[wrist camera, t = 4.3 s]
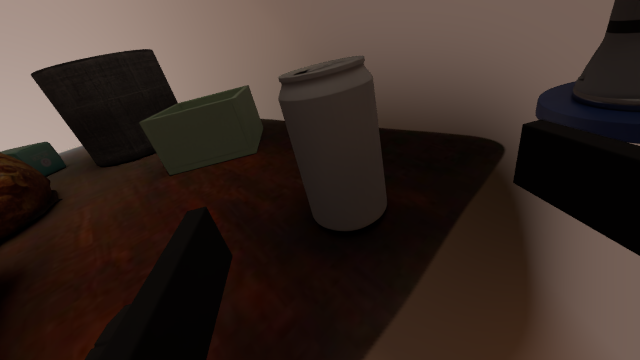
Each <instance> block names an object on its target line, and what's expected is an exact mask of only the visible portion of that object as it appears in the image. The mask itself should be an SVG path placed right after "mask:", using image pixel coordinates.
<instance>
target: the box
mask: <svg viewBox="0 0 640 360" xmlns="http://www.w3.org/2000/svg"><path fill="white" fill-rule="evenodd" d="M0 153H3V154H5V155H9V156H11V157H13V158H15V159H18V160H21V161H23V162H25V163H27V164H28V165H30V166H32V167H33V168H35V169H36V170H38V171H39V172H41V173H42V174H43V175H44V176H45V177H46V176H48V175H50V174H52V173H54V172H56V171H59V170H61V169H63V168H65V167H66V165H65V163H64V162H63V160H62V159H61V157H60V156H59V155H58V153H57V152H56V151H55V150H54V148H53V147H52V146H51V145H50V143H48V142H42V143H37V144H32V145H27V146H22V147H18V148H13V149H9V150H5V151H2V152H0Z"/></svg>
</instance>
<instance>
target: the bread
mask: <svg viewBox="0 0 640 360" xmlns="http://www.w3.org/2000/svg"><path fill="white" fill-rule="evenodd" d="M56 194H57V191H55V190H51V188H50V180H49V179H47V178H46V177H45V176H44V175H43V174H42V173H41V172H39V171H38V170H36V169H35V168H33V167H32V166H30V165H28V164H27V163H25V162H23V161H21V160H18V159H15V158H13V157H11V156H9V155H5V154H3V153H0V239H2V238H4V237H6V236H8V235H10V234H12V233H14V232H15V231H17V230H19V229H21V228H22V227H24V226H26V225H27V224H29V223H30V222H32V221H33V220H34V219H36V218H37V217H39V216H41V215H42V214H44V213H45V212H46V211H47V209H49V207H50V206H52V205H53V204H54V203H55V202H56V201H60V200H62V199H58V198H57V196H56Z"/></svg>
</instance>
